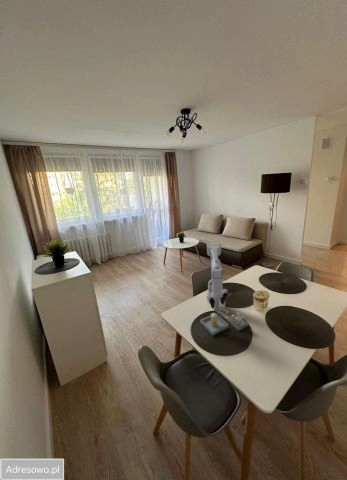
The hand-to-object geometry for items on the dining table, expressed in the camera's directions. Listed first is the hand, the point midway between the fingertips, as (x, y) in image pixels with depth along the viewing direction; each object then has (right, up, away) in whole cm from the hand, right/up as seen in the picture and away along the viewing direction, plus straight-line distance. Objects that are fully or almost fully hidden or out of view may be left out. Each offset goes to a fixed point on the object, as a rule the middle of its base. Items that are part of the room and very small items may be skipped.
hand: (217, 305), depth 119 cm
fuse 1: (+5, -5, +8) cm, 11 cm away
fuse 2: (+12, -9, -5) cm, 16 cm away
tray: (-3, -11, -3) cm, 12 cm away
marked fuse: (-3, -10, -3) cm, 11 cm away
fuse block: (+9, -8, +2) cm, 12 cm away
